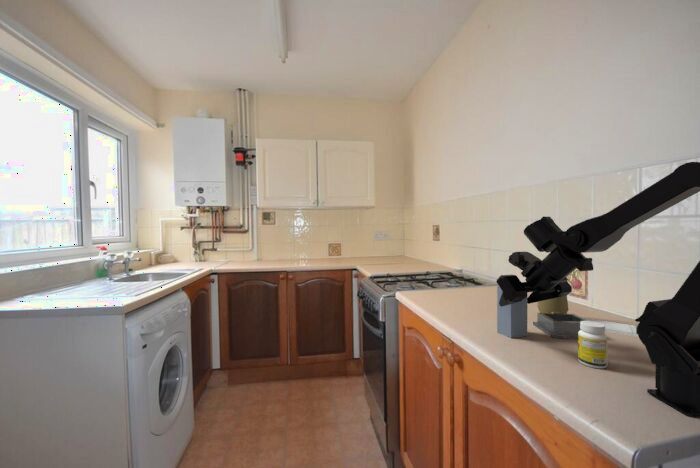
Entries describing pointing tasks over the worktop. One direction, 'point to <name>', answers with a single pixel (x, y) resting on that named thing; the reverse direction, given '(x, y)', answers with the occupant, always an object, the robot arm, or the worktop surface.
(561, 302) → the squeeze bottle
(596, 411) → the worktop surface
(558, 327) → the pocket plate
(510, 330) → the grey tall block
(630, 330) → the hard drive
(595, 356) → the supplement bottle
